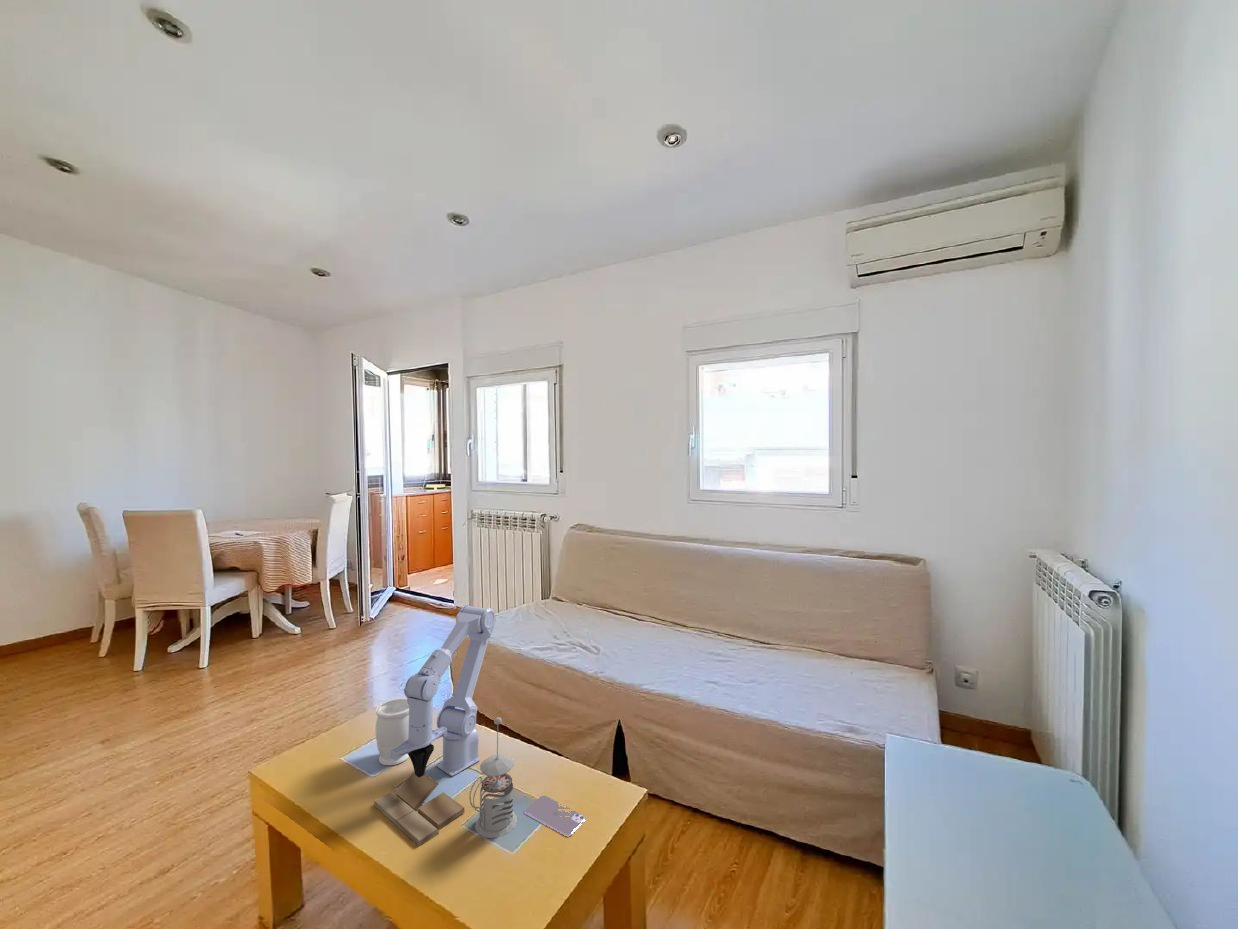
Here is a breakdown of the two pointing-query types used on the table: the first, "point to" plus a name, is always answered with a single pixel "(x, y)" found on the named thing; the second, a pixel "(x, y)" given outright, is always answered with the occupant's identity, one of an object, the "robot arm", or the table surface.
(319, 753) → the table surface
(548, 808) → the mobile phone
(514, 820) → the french press
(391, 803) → the laid board
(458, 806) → the plank
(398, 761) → the jar
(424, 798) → the plank
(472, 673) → the robot arm
